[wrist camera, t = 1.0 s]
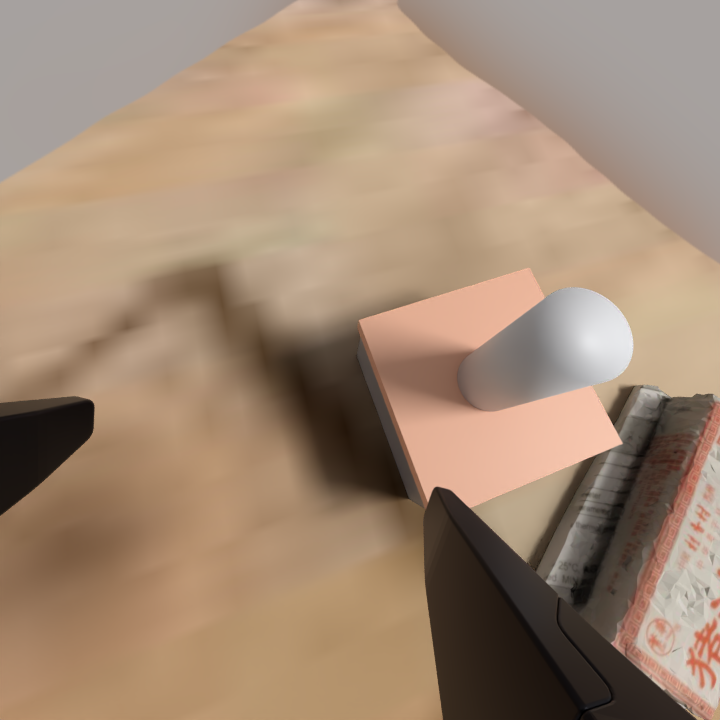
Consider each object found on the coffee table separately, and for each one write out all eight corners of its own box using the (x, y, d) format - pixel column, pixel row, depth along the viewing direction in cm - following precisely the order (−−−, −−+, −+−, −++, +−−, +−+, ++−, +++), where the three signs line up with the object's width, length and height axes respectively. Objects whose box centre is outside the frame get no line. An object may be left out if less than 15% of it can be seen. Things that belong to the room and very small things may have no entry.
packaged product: (694, 365, 21) (850, 469, 19) (627, 381, 25) (750, 466, 24) (559, 654, 16) (754, 812, 15) (508, 609, 21) (653, 727, 19)
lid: (590, 444, 19) (811, 436, 10) (423, 514, 17) (513, 575, 9) (510, 286, 21) (632, 168, 13) (356, 334, 20) (372, 237, 11)
